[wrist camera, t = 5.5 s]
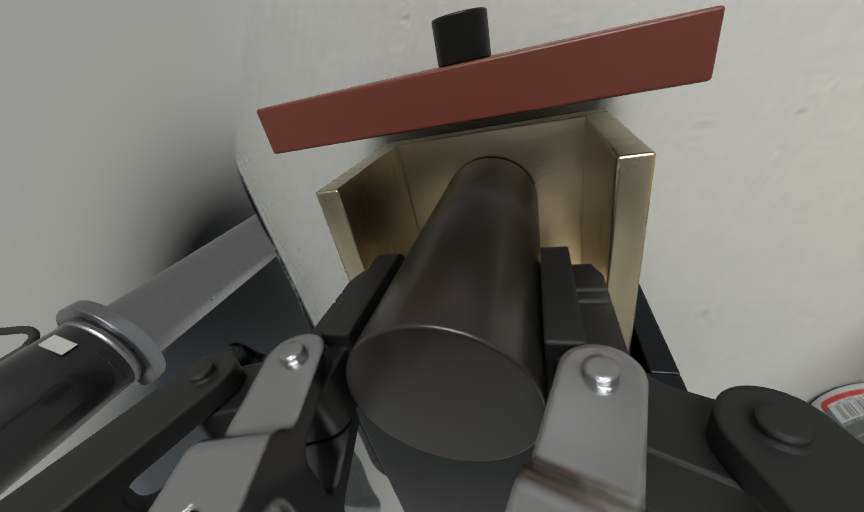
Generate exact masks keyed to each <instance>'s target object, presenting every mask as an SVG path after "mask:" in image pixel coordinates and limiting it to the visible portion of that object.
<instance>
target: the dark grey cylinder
mask: <svg viewBox="0 0 864 512" xmlns="http://www.w3.org/2000/svg"><path fill="white" fill-rule="evenodd" d="M346 380H347V384H348V388H349V390H350V393H351V395H352V397H353V399H354V400H355V402H356V403H357V405H358V406H359V408H360V409H361V410H362V411H363V412H364V414H365V415H366V416H367V417H368V418H369V419H370V420H371V421H373V422H374V423H375V424H376V425H377V426H378V427H380V428H381V429H382V430H384V431H385V432H387V433H388V434H390V435H391V436H393V437H394V438H396V439H398V440H400V441H401V442H403V443H406V444H408V445H410V446H412V447H414V448H417V449H419V450H422V451H424V452H427V453H431V454H434V455H437V456H441V457H445V458H451V459H456V460H465V461H491V460H499V459H504V458H508V457H511V456H514V455H517V454H519V453H521V452H523V451H525V450H527V449H528V448H530V447H531V446H532V445H534V444H535V443H536V439H537V436H538V433H539V429H540V426H541V422H542V419H543V415H544V412H545V408H546V405H547V401H548V398H549V397H548V382H547V375H546V372H545V353H544V331H543V310H542V288H541V267H540V230H539V211H538V196H537V191H536V188H535V185H534V183H533V181H532V180H531V178H530V177H529V175H528V174H527V173H526V172H525V171H524V170H523V169H522V168H520V167H519V166H517V165H516V164H514V163H512V162H510V161H507V160H503V159H498V158H484V159H479V160H476V161H473V162H471V163H469V164H467V165H465V166H464V167H462V168H461V169H460V170H459V171H458V172H457V173H456V174H455V175H454V176H453V178H452V179H451V181H450V183H449V184H448V186H447V188H446V189H445V191H444V193H443V194H442V196H441V198H440V200H439V201H438V203H437V205H436V206H435V208H434V210H433V212H432V213H431V215H430V217H429V218H428V220H427V222H426V224H425V225H424V227H423V229H422V230H421V232H420V234H419V236H418V237H417V239H416V241H415V242H414V244H413V246H412V247H411V249H410V251H409V253H408V254H407V256H406V258H405V259H404V261H403V263H402V265H401V266H400V268H399V270H398V271H397V273H396V275H395V277H394V278H393V280H392V282H391V283H390V285H389V287H388V288H387V290H386V292H385V294H384V295H383V297H382V299H381V300H380V302H379V304H378V306H377V307H376V309H375V311H374V312H373V314H372V316H371V318H370V319H369V321H368V323H367V324H366V326H365V328H364V329H363V331H362V333H361V335H360V336H359V338H358V340H357V341H356V343H355V345H354V347H353V348H352V350H351V352H350V354H349V357H348V359H347V365H346Z"/></svg>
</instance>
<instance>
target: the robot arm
mask: <svg viewBox="0 0 864 512" xmlns="http://www.w3.org/2000/svg"><path fill="white" fill-rule="evenodd" d="M404 259H405V257H404V255H403V254H386V255H378V256H377V257H376V258H375V260H374V261H373V262H372V264H371V265H370V266H369V268H368V269H367V271H363V272H361V273H360V274H359V275H357V276H356V277H355V278H353V279H352V280H351V281H350V282H349V283H348V285H347V286H346V287H345V289H344V290H343V293H342V294H340V295H339V297H338V298H337V299H336V303H333V304H332V306H331V307H330V308H329V310H328V311H327V312H326V314H325V315H324V316H323V318H322V319H321V320H320V322H319V323H318V324H317V325H316V327H315V328H314V329H313V331H312V332H311V333H310V334H303V335H299V336H296V337H293V338H291V339H288V340H287V341H285V342H283V343H282V344H281V345H279V346H278V347H276V348H275V349H274V350H273V351H272V352H271V353H270V354H269V355H268V357H267V358H266V360H265V362H260V363H256V364H251V365H247V366H242V367H241V366H240V364H239V363H238V361H237V360H236V358H235V357H234V355H233V354H231V353H229V352H218V353H214V354H211V355H209V356H206V357H204V358H202V359H200V360H198V361H196V362H195V363H193V364H192V365H191V366H189V367H187V368H186V369H185V370H183V371H182V372H181V373H179V374H178V375H176V376H175V377H173V378H172V379H171V380H169V381H168V382H167V383H165V384H164V385H162V386H161V387H160V388H158V389H157V390H155V391H154V392H152V393H151V394H150V395H148V396H147V397H145V398H144V399H143V400H141V401H140V402H138V403H137V404H135V405H134V406H133V407H131V408H130V409H129V410H127V411H126V412H124V413H123V414H121V415H120V416H119V417H117V418H116V419H114V420H113V421H112V422H110V423H109V424H107V425H106V426H105V427H103V428H102V429H100V430H99V431H98V432H96V433H95V434H93V435H92V436H91V437H89V438H88V439H87V440H85V441H84V442H82V443H81V444H80V445H78V446H77V447H75V448H74V449H72V450H71V451H70V452H68V453H67V454H65V455H64V456H63V457H61V458H60V459H58V460H57V461H56V462H54V463H53V464H51V465H50V466H48V467H47V468H46V469H44V470H43V471H41V472H40V473H39V474H37V475H36V476H34V477H33V478H32V479H30V480H29V481H28V482H26V483H25V484H23V485H22V486H20V487H19V488H17V489H16V490H15V491H13V492H12V493H10V494H9V495H8V496H6V497H5V498H3V499H2V500H1V501H0V512H345V510H344V503H345V494H346V489H347V484H348V478H349V473H350V468H351V462H352V457H353V452H354V446H355V441H356V436H357V430H358V425H359V416H358V413H357V411H356V408H357V406H358V405H357V403H356V402H355V400H354V399H353V397H352V395H351V393H350V390H349V388H348V384H347V380H346V365H347V359H348V357H349V354H350V352H351V350H352V348H353V347H354V345H355V343H356V341H357V340H358V338H359V336H360V335H361V333H362V331H363V329H364V328H365V326H366V324H367V323H368V321H369V319H370V318H371V316H372V314H373V312H374V311H375V309H376V307H377V306H378V304H379V302H380V300H381V299H382V297H383V295H384V294H385V292H386V290H387V288H388V287H389V285H390V283H391V282H392V280H393V278H394V277H395V275H396V273H397V271H398V270H399V268H400V266H401V265H402V263H403V261H404ZM540 267H541V288H542V310H543V331H544V353H545V372H546V375H547V382H548V397H549V398H548V401H547V405H546V408H545V412H544V415H543V419H542V422H541V426H540V429H539V433H538V436H537V439H536V443H535V446H534V450H533V453H532V456H531V458H530V460H529V462H528V463H524V464H523V465H522V466H521V468H520V470H519V472H518V474H517V476H516V479H515V482H514V485H513V488H512V491H511V494H510V497H509V500H508V504H507V507H506V510H505V512H646V508H647V509H650V510H652V511H654V512H864V444H863V443H861V442H860V441H859V440H858V439H856V438H855V437H854V436H853V435H851V434H850V433H849V432H848V431H846V430H845V429H844V428H843V427H841V426H840V425H839V424H838V423H837V422H835V421H834V420H833V419H831V418H830V417H829V416H827V415H826V414H825V413H823V412H822V411H820V410H819V409H817V408H815V407H814V406H812V405H811V404H809V403H807V402H805V401H803V400H801V399H799V398H796V397H794V396H791V395H789V394H787V393H783V392H780V391H777V390H774V389H769V388H765V387H758V386H736V387H732V388H729V389H726V390H725V391H723V392H721V393H720V394H719V395H718V396H717V398H716V400H714V399H711V398H708V397H704V396H701V395H698V394H694V393H691V392H687V391H684V390H681V389H677V388H675V387H672V386H669V385H667V384H664V383H662V382H660V381H658V380H656V379H655V378H653V377H651V376H650V375H648V374H647V373H645V371H644V370H643V368H642V367H641V366H640V364H639V363H638V362H637V361H636V360H635V359H633V358H632V357H631V356H630V355H629V353H628V350H627V347H626V344H625V341H624V338H623V335H622V331H621V328H620V325H619V322H618V319H617V316H616V313H615V310H614V306H613V304H612V300H611V297H610V294H609V292H608V288H607V285H606V281H605V278H604V275H603V274H602V273H601V272H599V271H598V270H597V269H596V268H595V267H594V266H593V265H592V264H571V259H570V253H569V248H568V246H558V247H540ZM20 333H23V334H27V335H28V339H27V340H26V342H24V344H23V345H22V346H21V347H19V348H18V349H16V350H14V351H12V352H11V353H9V354H7V355H6V356H4V357H2V358H0V495H1V494H2V493H3V492H5V491H6V490H7V489H8V488H9V487H10V486H12V485H13V484H14V483H15V482H16V481H18V480H19V479H20V478H21V477H22V476H24V475H25V474H26V473H27V472H28V471H29V470H31V469H32V468H33V467H34V466H35V465H37V464H38V463H39V462H40V461H41V460H42V459H44V458H45V457H46V456H47V455H48V454H50V453H51V452H52V451H53V450H54V449H55V448H57V447H58V446H59V445H60V444H61V443H63V442H64V441H65V440H66V439H67V438H68V437H70V436H71V435H72V434H73V433H74V432H75V431H77V430H78V429H79V428H80V427H81V426H83V424H85V423H86V422H87V421H88V420H90V419H91V418H92V417H93V416H94V415H96V414H97V413H98V412H99V411H100V410H101V409H103V408H104V407H105V406H106V405H107V404H108V403H110V402H111V401H112V400H113V399H115V398H116V397H117V396H118V395H119V394H120V393H122V392H123V391H124V390H125V389H126V388H128V387H129V386H130V385H131V384H133V383H135V382H136V381H137V380H138V379H140V378H141V377H142V376H143V374H144V368H143V365H142V363H141V361H140V360H139V358H138V357H137V356H136V354H135V353H134V352H133V351H132V350H131V349H130V348H129V347H128V346H127V345H126V344H125V343H124V342H123V341H122V340H120V339H119V338H118V337H116V336H115V335H114V334H112V333H111V332H109V331H107V330H106V329H104V328H102V327H100V326H98V325H96V324H94V323H92V322H89V321H86V320H83V319H76V318H75V319H70V320H68V321H66V322H65V323H63V324H61V325H60V326H58V327H57V329H55V330H53V331H52V332H50V333H48V334H47V335H45V336H43V337H42V338H40V332H39V331H38V330H37V329H36V328H34V327H31V326H16V327H7V328H0V335H10V334H20ZM196 427H198V429H199V430H200V431H201V432H202V433H203V434H204V435H205V436H206V438H207V439H205V440H201V441H199V442H197V443H195V444H194V445H193V446H192V447H190V448H189V449H188V451H187V452H186V453H185V454H184V455H183V457H182V458H181V460H180V461H179V463H178V465H177V466H176V468H175V469H174V471H173V473H172V474H171V476H170V477H169V479H168V480H167V482H166V484H165V485H164V486H163V487H162V488H161V489H160V490H158V491H156V492H155V493H153V494H150V495H145V496H141V495H138V494H136V493H135V492H134V491H133V490H132V489H130V488H129V486H130V484H131V483H132V481H134V480H135V479H136V478H137V477H138V476H139V475H140V474H141V473H142V472H144V471H145V470H146V469H147V468H148V467H150V466H151V465H152V464H153V463H154V462H155V461H157V460H158V459H159V458H160V457H161V456H163V455H164V454H165V453H166V452H167V451H168V450H170V449H171V448H172V447H173V446H174V445H176V444H177V443H178V442H179V441H180V440H181V439H182V438H184V437H185V436H186V435H187V434H189V433H190V432H191V431H192V430H193V429H194V428H196Z"/></svg>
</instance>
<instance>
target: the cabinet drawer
mask: <svg viewBox="0 0 864 512" xmlns="http://www.w3.org/2000/svg"><path fill="white" fill-rule="evenodd" d="M724 10H725V7H724V6H722V5H721V6H716V7H711V8H706V9H701V10H697V11H692V12H687V13H682V14H677V15H672V16H668V17H663V18H658V19H653V20H648V21H644V22H639V23H634V24H629V25H625V26H620V27H616V28H611V29H607V30H603V31H598V32H594V33H589V34H585V35H580V36H576V37H572V38H567V39H563V40H558V41H554V42H549V43H545V44H541V45H536V46H532V47H527V48H523V49H518V50H514V51H510V52H505V53H501V54H496V55H492V56H491V49H490V39H489V28H488V18H487V9H486V8H484V7H479V8H472V9H467V10H462V11H458V12H454V13H451V14H447V15H444V16H441V17H439V18H436V19H435V20H433V21H432V29H433V35H434V41H435V47H436V53H437V60H438V66H439V68H434V69H430V70H426V71H421V72H417V73H412V74H408V75H403V76H399V77H395V78H390V79H386V80H381V81H377V82H372V83H368V84H364V85H359V86H355V87H351V88H347V89H342V90H338V91H334V92H330V93H325V94H321V95H317V96H313V97H309V98H304V99H300V100H296V101H292V102H287V103H283V104H279V105H275V106H270V107H266V108H262V109H258V110H257V114H258V116H259V118H260V121H261V123H262V126H263V128H264V130H265V133H266V135H267V137H268V140H269V142H270V144H271V147H272V149H273V152H274V153H275V154H279V153H285V152H291V151H297V150H303V149H308V148H314V147H320V146H326V145H332V144H338V143H344V142H350V141H356V140H362V139H368V138H374V137H380V136H386V135H391V134H397V133H403V132H409V131H415V130H421V129H427V128H433V127H439V126H445V125H451V124H457V123H463V122H469V121H474V120H480V119H486V118H492V117H498V116H504V115H510V114H516V113H522V112H528V111H534V110H540V109H546V108H552V107H557V106H563V105H569V104H575V103H581V102H587V101H593V100H599V99H605V98H611V97H617V96H623V95H629V94H634V93H640V92H646V91H652V90H658V89H664V88H670V87H676V86H682V85H688V84H694V83H700V82H706V81H708V80H710V79H711V78H712V73H713V68H714V63H715V57H716V52H717V47H718V42H719V37H720V31H721V26H722V21H723V16H724ZM655 157H656V154H655V152H654V151H653V150H652V149H651V148H650V147H648V146H647V145H646V144H645V143H644V142H643V141H641V140H640V139H639V138H638V137H637V136H636V135H634V134H633V133H632V132H631V131H630V130H629V129H628V128H626V127H625V126H624V125H623V124H622V123H621V122H619V121H618V120H617V119H616V118H615V117H614V116H613V115H611V114H610V113H609V112H608V111H607V110H606V109H604V108H602V109H596V110H590V111H584V112H578V113H571V114H565V115H559V116H553V117H546V118H540V119H534V120H528V121H521V122H515V123H509V124H503V125H497V126H490V127H484V128H478V129H472V130H465V131H459V132H453V133H447V134H441V135H434V136H428V137H422V138H416V139H409V140H403V141H397V142H391V143H388V144H386V145H385V146H383V147H382V148H380V149H379V150H377V151H376V152H374V153H373V154H371V155H370V156H369V157H367V158H366V159H364V160H363V161H361V162H360V163H358V164H357V165H355V166H354V167H353V168H351V169H350V170H348V171H347V172H345V173H344V174H342V175H341V176H339V177H338V178H337V179H335V180H334V181H332V182H331V183H329V184H328V185H326V186H325V187H323V188H322V189H321V190H319V191H318V192H316V195H317V198H318V200H319V203H320V205H321V208H322V211H323V213H324V216H325V218H326V221H327V224H328V226H329V229H330V231H331V234H332V237H333V239H334V242H335V244H336V247H337V250H338V252H339V255H340V257H341V260H342V263H343V265H344V268H345V270H346V273H347V276H348V278H349V281H351V280H352V279H353V278H355V277H356V276H357V275H359V274H360V273H361V272H363V271H367V269H368V268H369V266H370V265H371V264H372V262H373V261H374V260H375V258H376V257H377V256H378V255H386V254H403V255H404V257H405V258H406V256H407V254H408V253H409V251H410V249H411V247H412V246H413V244H414V242H415V241H416V239H417V237H418V236H419V234H420V232H421V230H422V229H423V227H424V225H425V224H426V222H427V220H428V218H429V217H430V215H431V213H432V212H433V210H434V208H435V206H436V205H437V203H438V201H439V200H440V198H441V196H442V194H443V193H444V191H445V189H446V188H447V186H448V184H449V183H450V181H451V179H452V178H453V176H454V175H455V174H456V173H457V172H458V171H459V170H460V169H461V168H462V167H464V166H465V165H467V164H469V163H471V162H473V161H476V160H479V159H484V158H498V159H503V160H507V161H510V162H512V163H514V164H516V165H517V166H519V167H520V168H522V169H523V170H524V171H525V172H526V173H527V174H528V175H529V177H530V178H531V180H532V181H533V183H534V185H535V188H536V191H537V196H538V211H539V230H540V247H558V246H568V248H569V253H570V259H571V264H592V265H593V266H594V267H595V268H596V269H597V270H598V271H599V272H601V273H602V274H603V275H604V278H605V281H606V285H607V288H608V292H609V294H610V297H611V300H612V304H613V306H614V310H615V313H616V316H617V319H618V322H619V325H620V328H621V331H622V335H623V338H624V341H625V344H626V347H627V350H628V353H629V355H630V347H631V340H632V332H633V324H634V317H635V309H636V302H637V294H638V286H639V279H640V271H641V263H642V256H643V248H644V241H645V233H646V225H647V218H648V210H649V203H650V195H651V187H652V180H653V172H654V165H655Z"/></svg>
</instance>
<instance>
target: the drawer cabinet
mask: <svg viewBox="0 0 864 512" xmlns="http://www.w3.org/2000/svg"><path fill="white" fill-rule="evenodd" d="M630 356H631V357H632V358H633V359H635V360H636V361H637V362H638V363H639V364H640V366H641V367H642V368H643V370H644V371H645V373H647V374H648V375H650V376H651V377H653V378H655V379H656V380H658V381H660V382H662V383H664V384H667V385H669V386H672V387H675V388H677V389H681V390H684V391H687V389H686V387H685V384H684V382H683V380H682V378H681V376H680V373H679V370H678V368H677V366H676V364H675V362H674V359H673V357H672V355H671V353H670V351H669V348H668V346H667V344H666V342H665V340H664V337H663V335H662V333H661V331H660V329H659V326H658V324H657V322H656V320H655V317H654V315H653V313H652V311H651V309H650V306H649V304H648V302H647V300H646V298H645V295H644V293H643V291H642V289H641V287H640V284H639V286H638V294H637V302H636V309H635V317H634V324H633V332H632V340H631V347H630ZM687 392H688V391H687ZM356 411H357V413H358V416H359V419H360V421H361V423H362V426H363V428H364V430H365V432H366V434H367V436H368V438H369V440H370V442H371V444H372V446H373V448H374V450H375V452H376V454H377V456H378V458H379V460H380V462H381V465H382V467H383V469H384V471H385V473H386V475H387V477H388V479H389V481H390V483H391V485H392V487H393V489H394V491H395V493H396V495H397V497H398V499H399V501H400V504H401V506H402V507H403V510H404V512H505V510H506V507H507V504H508V500H509V497H510V494H511V491H512V488H513V485H514V482H515V479H516V476H517V474H518V472H519V470H520V468H521V466H522V465H523V464H524V463H528V462H529V460H530V458H531V456H532V453H533V450H534V446H535V444H534V445H532V446H531V447H530V448H528V449H527V450H525V451H523V452H521V453H519V454H517V455H514V456H511V457H508V458H504V459H499V460H491V461H465V460H456V459H451V458H445V457H441V456H437V455H434V454H431V453H427V452H424V451H422V450H419V449H417V448H414V447H412V446H410V445H408V444H406V443H403V442H401V441H400V440H398V439H396V438H394V437H393V436H391V435H390V434H388V433H387V432H385V431H384V430H382V429H381V428H380V427H378V426H377V425H376V424H375V423H374V422H373V421H371V420H370V419H369V418H368V417H367V416H366V415H365V414H364V412H363V411H362V410H361V409H360V408H359V406H357V408H356ZM646 512H654V511H652V510H650V509H647V508H646Z"/></svg>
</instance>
